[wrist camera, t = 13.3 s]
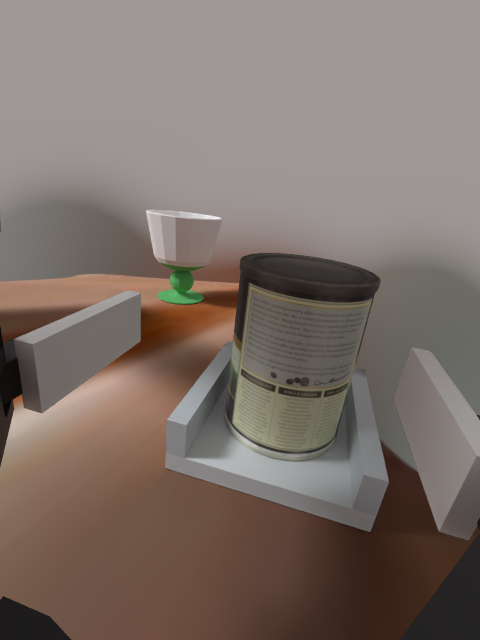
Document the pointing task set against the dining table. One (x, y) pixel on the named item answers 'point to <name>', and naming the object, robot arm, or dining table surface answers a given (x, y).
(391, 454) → the dining table surface
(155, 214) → the cup
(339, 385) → the coffee can
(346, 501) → the tray
